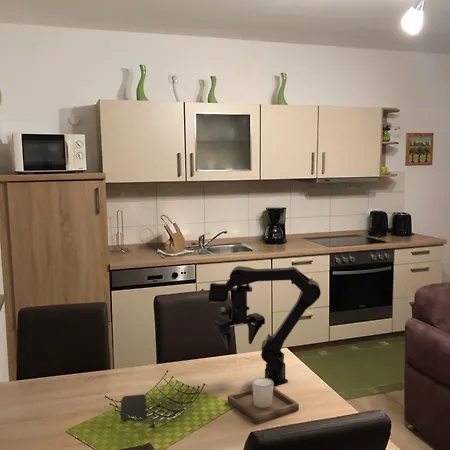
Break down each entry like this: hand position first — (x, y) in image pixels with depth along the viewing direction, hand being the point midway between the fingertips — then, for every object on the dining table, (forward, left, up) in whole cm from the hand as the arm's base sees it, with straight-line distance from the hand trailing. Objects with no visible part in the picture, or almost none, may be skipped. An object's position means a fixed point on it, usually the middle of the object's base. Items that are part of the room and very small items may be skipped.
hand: (239, 346), depth 168 cm
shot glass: (+4, +20, -11) cm, 23 cm away
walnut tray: (+4, +20, -12) cm, 24 cm away
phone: (+39, 0, -13) cm, 41 cm away
